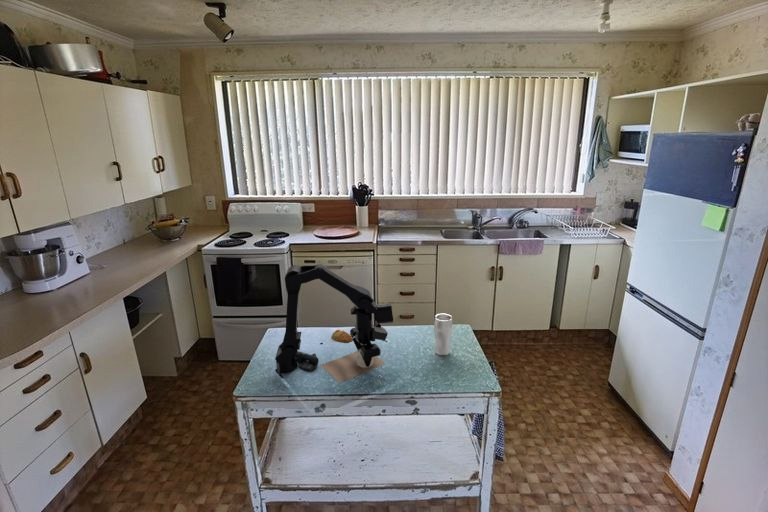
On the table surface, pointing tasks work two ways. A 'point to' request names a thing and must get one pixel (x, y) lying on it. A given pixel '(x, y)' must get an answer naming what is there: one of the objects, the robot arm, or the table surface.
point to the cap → (360, 361)
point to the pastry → (341, 336)
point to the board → (348, 367)
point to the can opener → (307, 361)
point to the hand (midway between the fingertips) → (365, 361)
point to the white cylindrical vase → (442, 333)
